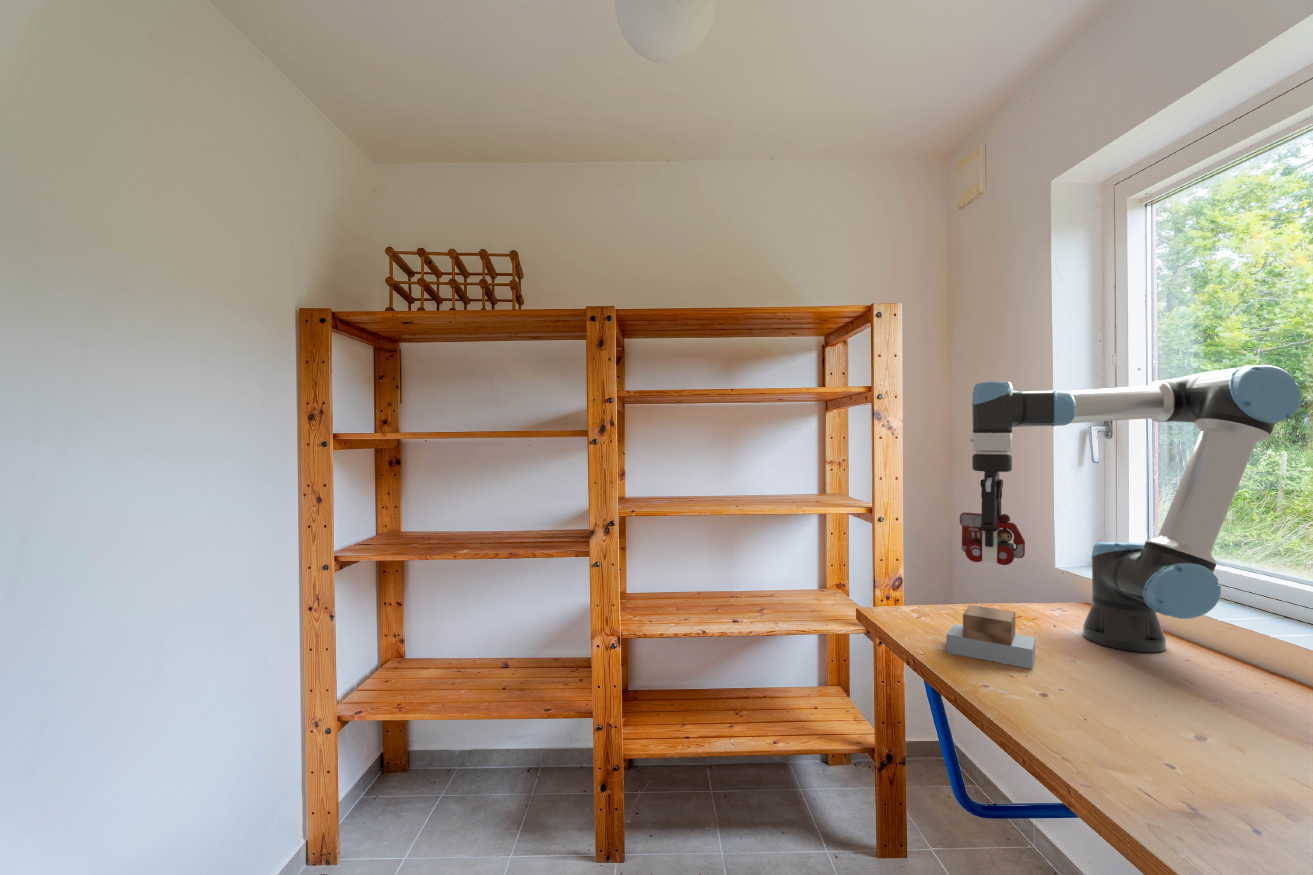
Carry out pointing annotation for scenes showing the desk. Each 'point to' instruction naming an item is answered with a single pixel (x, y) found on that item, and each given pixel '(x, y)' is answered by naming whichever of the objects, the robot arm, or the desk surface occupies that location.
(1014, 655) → the plinth
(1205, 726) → the desk surface
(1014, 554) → the toy fire truck
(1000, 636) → the walnut block
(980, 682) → the desk surface
